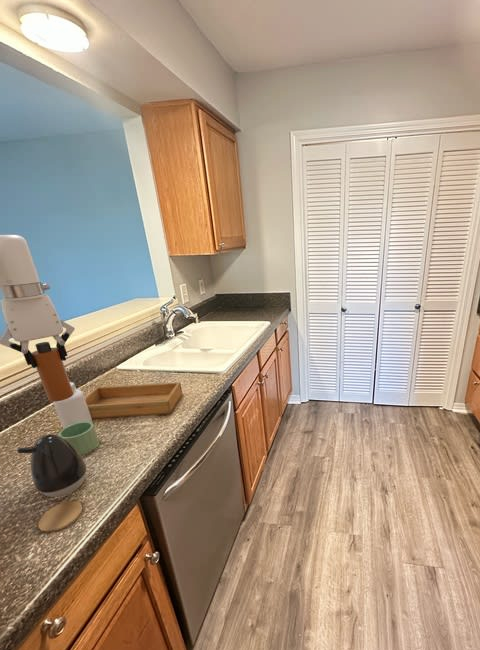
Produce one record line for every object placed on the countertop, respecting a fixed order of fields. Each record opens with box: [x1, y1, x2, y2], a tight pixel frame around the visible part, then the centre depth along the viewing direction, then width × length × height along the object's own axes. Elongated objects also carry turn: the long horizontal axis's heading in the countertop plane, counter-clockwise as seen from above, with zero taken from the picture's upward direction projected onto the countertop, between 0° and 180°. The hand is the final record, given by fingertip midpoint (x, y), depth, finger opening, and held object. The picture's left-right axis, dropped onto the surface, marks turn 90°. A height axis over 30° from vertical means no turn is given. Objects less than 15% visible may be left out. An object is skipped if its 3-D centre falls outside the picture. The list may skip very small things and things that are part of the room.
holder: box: [57, 421, 100, 456], centre depth 93 cm, size 8×8×6 cm
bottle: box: [31, 341, 74, 403], centre depth 84 cm, size 6×6×15 cm
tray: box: [84, 381, 183, 420], centre depth 114 cm, size 31×15×6 cm, turn 94°
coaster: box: [37, 500, 83, 533], centre depth 71 cm, size 8×8×1 cm
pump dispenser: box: [16, 433, 87, 498], centre depth 76 cm, size 10×10×15 cm
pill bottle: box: [52, 381, 93, 430], centre depth 102 cm, size 8×8×15 cm
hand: (48, 362), depth 83 cm, fingers closed on bottle, 5 cm apart
